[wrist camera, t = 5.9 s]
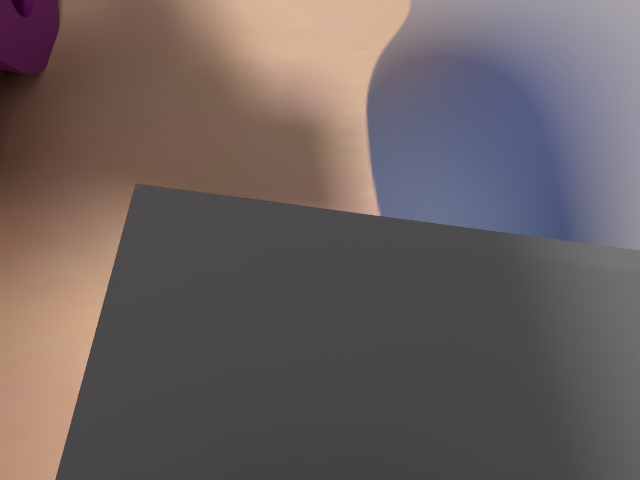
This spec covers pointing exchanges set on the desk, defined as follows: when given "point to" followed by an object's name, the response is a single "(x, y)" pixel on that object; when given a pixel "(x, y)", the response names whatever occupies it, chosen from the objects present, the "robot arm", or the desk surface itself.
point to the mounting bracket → (27, 34)
